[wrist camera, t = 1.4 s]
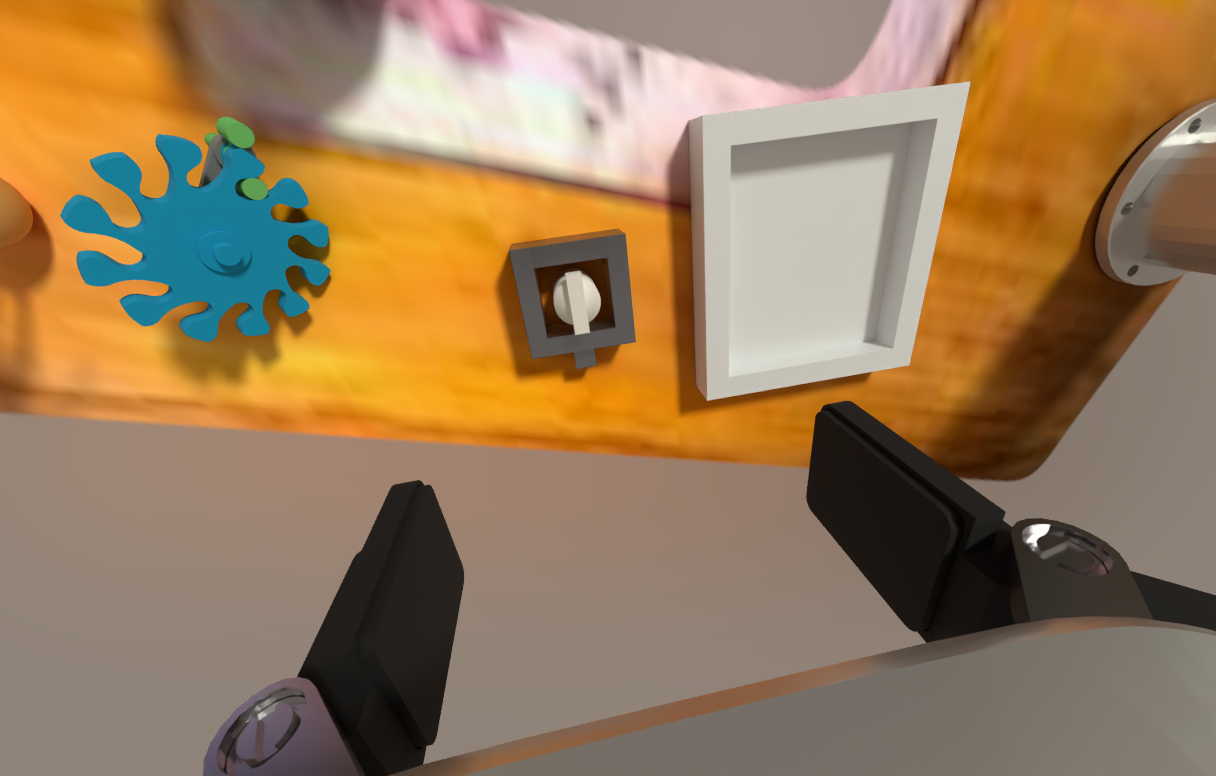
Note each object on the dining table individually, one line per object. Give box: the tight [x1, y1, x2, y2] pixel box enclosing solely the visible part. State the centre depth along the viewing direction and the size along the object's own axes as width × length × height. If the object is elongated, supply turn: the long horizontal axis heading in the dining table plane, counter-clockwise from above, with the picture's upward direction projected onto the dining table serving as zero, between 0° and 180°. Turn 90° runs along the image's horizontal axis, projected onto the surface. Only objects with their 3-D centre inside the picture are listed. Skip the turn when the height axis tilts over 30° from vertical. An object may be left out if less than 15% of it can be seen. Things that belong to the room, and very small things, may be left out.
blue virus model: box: [60, 117, 330, 342], centre depth 23 cm, size 11×6×10 cm
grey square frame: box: [509, 229, 636, 369], centre depth 28 cm, size 7×8×3 cm
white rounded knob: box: [553, 268, 601, 335], centre depth 27 cm, size 3×4×4 cm
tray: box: [688, 82, 970, 401], centre depth 29 cm, size 16×18×2 cm
